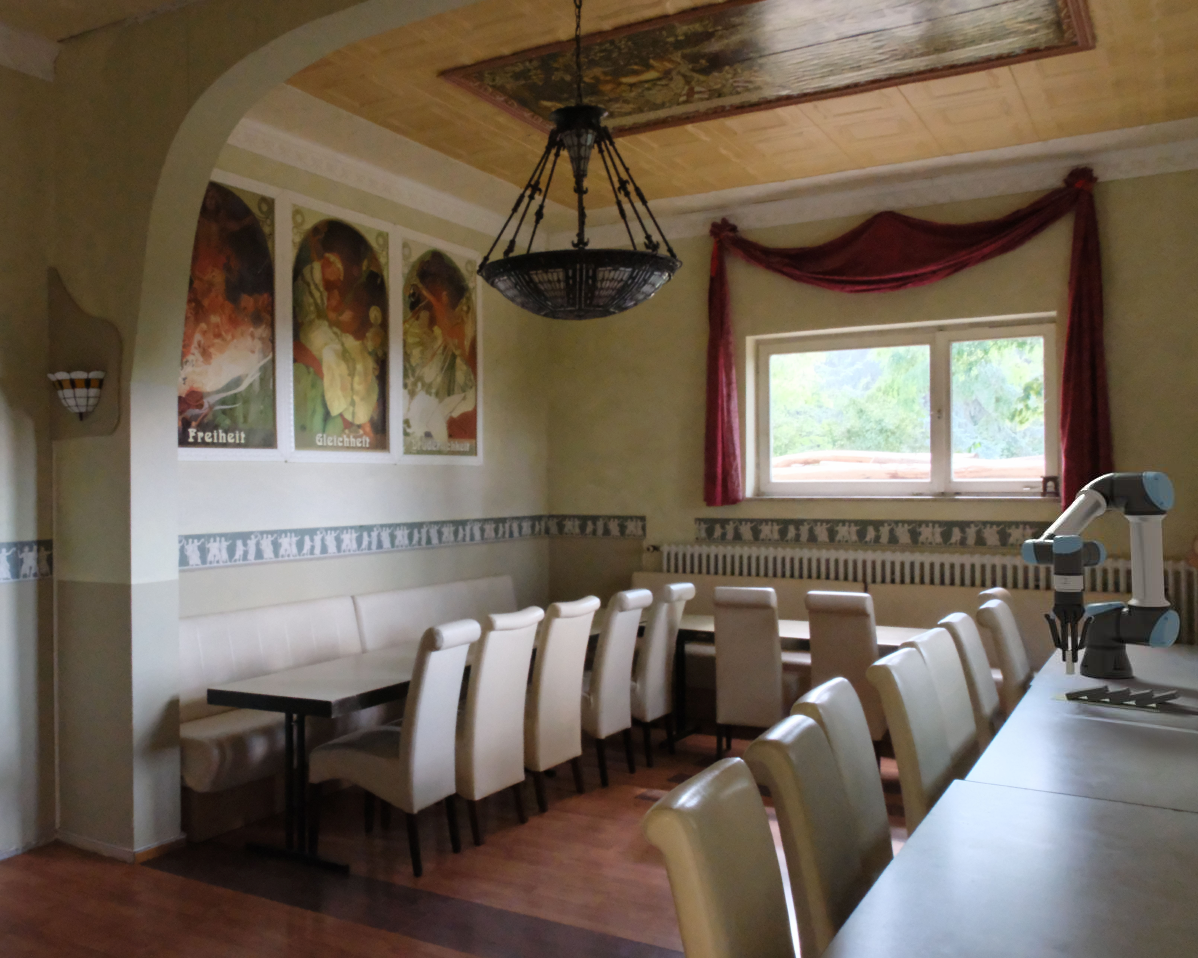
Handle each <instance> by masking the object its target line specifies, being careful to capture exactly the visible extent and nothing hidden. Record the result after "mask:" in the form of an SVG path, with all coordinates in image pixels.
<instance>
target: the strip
mask: <svg viewBox="0 0 1198 958" xmlns="http://www.w3.org/2000/svg"><path fill="white" fill-rule="evenodd" d="M1065 694H1066V693H1059V694H1057V695H1056V696H1054V697H1051V700H1055V701H1063V702H1064V701H1065V702H1073V703H1081V704H1088V705H1096V706H1107V707H1113V708H1114V707H1115V708H1122V709H1130V710H1137V711H1147V712H1154V713H1161V711H1160V710H1155V706H1156V704H1151V705H1146V706H1142V707H1136V704H1135V701H1130V702H1123V703H1117V704H1110V701H1109V699H1103V700H1097V701H1091V702H1088V699H1087V696H1085V697H1079V698H1073V699H1067V698H1066V695H1065Z"/></svg>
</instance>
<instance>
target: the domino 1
mask: <svg viewBox="0 0 1198 958" xmlns="http://www.w3.org/2000/svg"><path fill="white" fill-rule="evenodd" d="M1109 690H1110V688H1109V685H1108V684H1104V685H1103V684H1102V685H1097V686H1092V687H1085V688H1081V689H1075V690H1074V689H1073V690H1069V691H1068V692H1066V693H1064V694H1065V695H1066V698H1067V699H1073V698H1079V697H1087V696H1091V695H1097V694H1103V693H1105V692H1107V691H1109Z"/></svg>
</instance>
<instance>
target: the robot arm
mask: <svg viewBox="0 0 1198 958" xmlns="http://www.w3.org/2000/svg"><path fill="white" fill-rule="evenodd" d="M1174 502H1175V491H1174V487H1173V483H1172V481H1171V479H1170V478H1169V477H1168V476H1167V475H1166V474H1165V473H1163V472H1160V471H1135V472H1134V471H1133V472H1130V471H1129V472H1128V471H1127V472H1111V473H1106V474H1103V475H1102V476H1099V477H1097V478H1095V479H1093V480H1092V481H1090V482H1089V483H1087V484H1086V485H1085V486H1084V487H1081V489H1080V490H1079V491H1078V492H1077V493H1076V494H1075V499H1074V501H1073V502H1072V503H1071V504H1070V505H1069V507H1067V508H1066V509H1065V511H1064V512H1063V513H1062V514H1061V515H1060V516H1059V517H1058V518H1057V519H1056V520H1055V521H1054V522H1053V523H1052V525H1050V526H1049V527H1048V528H1047V530H1045V532H1043V534H1042V535H1041V536H1039V538H1038V539H1035V538H1033V539H1028V540H1025V541H1024V542H1023V544H1022V545H1021V546H1022V547H1021V555H1022V559H1023V561H1024V562H1025V563H1026V564H1029V565H1037V566H1053V588H1054V589H1055V590H1054V592H1053V597H1054V598H1053V602H1054V603H1053V607H1052V610H1051V611H1050V612H1047V613H1045V614H1044V615H1043V616H1044V618H1045V620H1046V621H1047V622H1048V626H1049V630H1050V633H1051V637H1052V641H1053V644H1054V645H1053V646H1054V648H1055V649H1057V648H1058V649H1060V650H1061V660H1062V662H1064V663H1065V674H1066V675H1069V676H1072V675H1074V674H1076V672H1075V669H1076V668H1075V664H1077V663H1078V661H1079V651H1081V650H1084V652H1083V655H1082V658H1081V662H1080V663H1079V674H1081V675H1083V676H1088V677H1091V678H1101V679H1102V678H1103V679H1129V678H1133V676H1134V670H1133V669H1134V668H1133V667H1132V664H1131V661H1130V658H1129V655H1128V653H1127V645H1129V646H1130V645H1132V646H1140V647H1141V646H1142V647H1149V648H1153V649H1154V648H1156V649H1157V648H1161V649H1163V648H1164V649H1165V648H1169V647H1170V646H1172V645H1173V643H1174V642H1175V641H1176V639H1177V637H1178V635H1179V631H1180V621H1181V620H1180V617H1179V614H1178V612H1177V611H1175V610H1173V609H1171V608H1172V607H1171V603H1170V602H1169V601H1168V600H1167V599H1166V597H1165V583H1164V582H1165V581H1164V580H1165V579H1164V576H1165V575H1164V557H1163V556H1164V555H1163V552H1164V551H1163V534H1162V533H1163V529H1162V522H1163V519H1164V518H1165V517H1167V515H1168V513H1167V511H1168V510H1171V509H1172V507H1174ZM1110 510H1123V516H1124V517H1125V518H1126V519H1127V520H1128V521H1129V534H1130V557H1131V558H1130V559H1131V560H1130V561H1131V583H1132V584H1131V587H1132V588H1131V589H1132V598H1131V599H1130V600H1128V602H1127V605H1126V602H1125V601H1109V602H1106V601H1105V602H1095V603H1089V604H1087V605H1086V606H1085V605H1084V603H1085V602H1084V601H1085V600H1084V591H1082V590H1083V589H1084V568H1095V567H1098V566H1100V565H1102V564H1104V562H1105V561H1106V558H1107V550H1106V548H1105V546H1104V545H1103V544H1102V543H1101V542H1099V541H1097V540H1083V538H1082V537H1081V536H1080V533H1082V532H1083V531H1084V529H1085V528H1086V527H1087V526H1088V525H1089V524H1091V522H1092V521H1093V520H1094V519H1095V517H1098V516H1101V515H1103V514H1104V513H1105V512H1106V511H1110ZM1055 618H1057V619H1058V620H1059V624H1060V632H1059V630H1058V626H1057V621H1056V620H1055ZM1081 619H1083V621H1084V623H1083V625H1082V630H1081V633H1080V638H1079V622H1080V621H1081ZM1069 626H1070V627H1069ZM1069 628H1070V647H1069Z"/></svg>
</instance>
